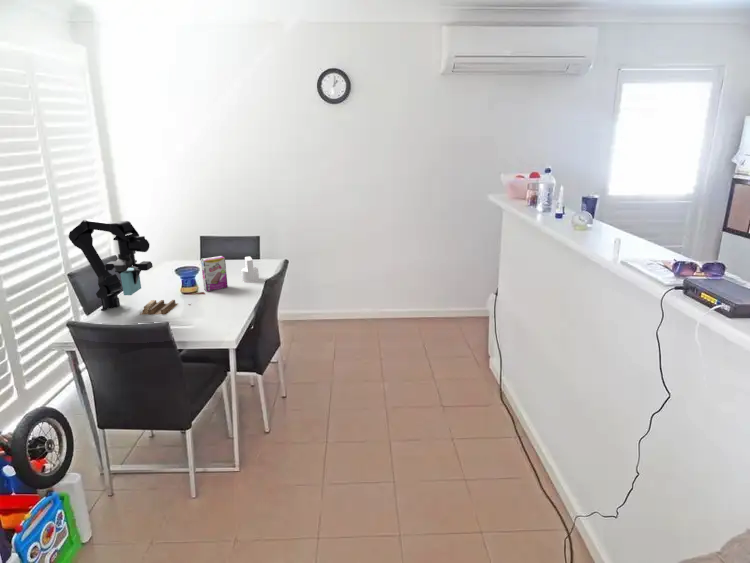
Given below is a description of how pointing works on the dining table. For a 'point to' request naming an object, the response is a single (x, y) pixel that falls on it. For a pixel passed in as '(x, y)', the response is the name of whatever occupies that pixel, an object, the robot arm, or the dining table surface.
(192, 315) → the dining table surface
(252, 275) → the base with upright slab
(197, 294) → the wooden tablet
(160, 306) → the walnut rack
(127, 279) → the teal panel
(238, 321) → the dining table surface
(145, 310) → the oak offcut slats
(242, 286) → the dining table surface
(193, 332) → the dining table surface
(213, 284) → the candy bar box
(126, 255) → the robot arm
